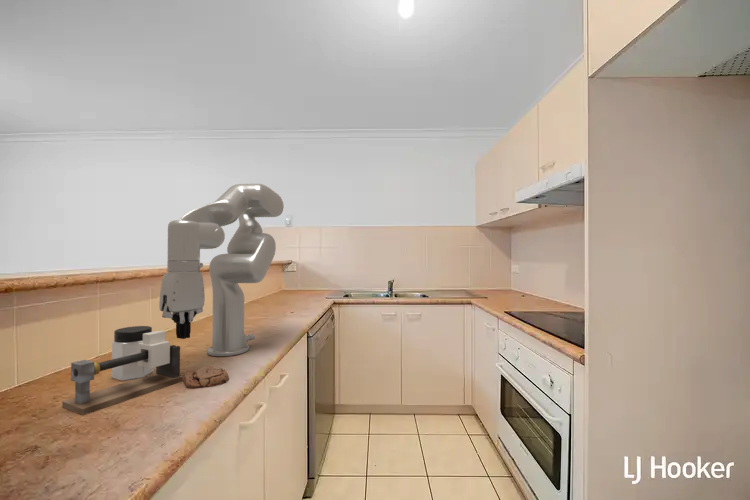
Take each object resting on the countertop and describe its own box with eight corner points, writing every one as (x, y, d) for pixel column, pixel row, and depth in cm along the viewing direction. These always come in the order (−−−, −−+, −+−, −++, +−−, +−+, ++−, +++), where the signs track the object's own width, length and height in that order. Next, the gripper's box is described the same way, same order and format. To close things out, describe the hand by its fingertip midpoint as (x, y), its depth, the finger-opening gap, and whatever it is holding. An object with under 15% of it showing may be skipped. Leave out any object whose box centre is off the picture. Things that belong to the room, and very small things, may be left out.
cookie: (222, 388, 84) (222, 376, 84) (175, 390, 83) (175, 378, 83) (234, 374, 94) (234, 363, 94) (191, 376, 92) (192, 364, 92)
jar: (110, 383, 86) (111, 334, 87) (112, 373, 93) (113, 328, 93) (153, 376, 91) (154, 329, 92) (153, 367, 98) (153, 324, 98)
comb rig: (162, 375, 92) (162, 339, 92) (182, 380, 88) (182, 343, 88) (62, 407, 73) (62, 361, 73) (82, 415, 69) (83, 367, 69)
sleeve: (156, 360, 89) (156, 329, 89) (169, 363, 87) (170, 331, 87) (137, 365, 85) (138, 333, 85) (151, 368, 83) (151, 335, 83)
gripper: (199, 266, 101) (199, 331, 101) (146, 268, 88) (145, 342, 88) (217, 267, 98) (217, 333, 98) (165, 269, 85) (164, 346, 84)
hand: (183, 337), depth 93 cm, fingers closed
